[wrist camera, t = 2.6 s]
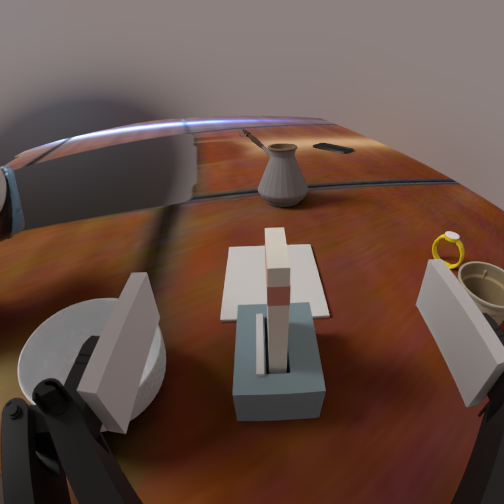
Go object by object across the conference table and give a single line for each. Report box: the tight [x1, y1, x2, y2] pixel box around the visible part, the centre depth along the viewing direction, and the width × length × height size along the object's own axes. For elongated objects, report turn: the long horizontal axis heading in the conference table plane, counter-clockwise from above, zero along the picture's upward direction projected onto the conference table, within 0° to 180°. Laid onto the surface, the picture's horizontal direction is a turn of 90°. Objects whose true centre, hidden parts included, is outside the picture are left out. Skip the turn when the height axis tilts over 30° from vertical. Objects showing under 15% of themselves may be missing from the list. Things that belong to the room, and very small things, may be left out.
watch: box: [432, 231, 464, 269], centre depth 47 cm, size 6×3×6 cm, turn 36°
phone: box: [313, 143, 354, 154], centre depth 117 cm, size 8×1×15 cm
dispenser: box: [232, 302, 326, 421], centre depth 31 cm, size 12×8×5 cm, turn 0°
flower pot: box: [458, 261, 504, 326], centre depth 32 cm, size 9×9×9 cm
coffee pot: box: [240, 129, 308, 207], centre depth 73 cm, size 21×12×15 cm, turn 35°
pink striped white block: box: [265, 228, 291, 374], centre depth 28 cm, size 6×2×15 cm, turn 0°
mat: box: [220, 244, 330, 322], centre depth 48 cm, size 18×14×1 cm
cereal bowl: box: [17, 298, 166, 432], centre depth 29 cm, size 17×17×7 cm
